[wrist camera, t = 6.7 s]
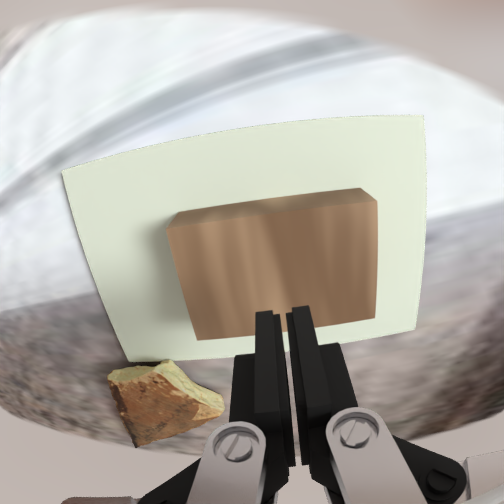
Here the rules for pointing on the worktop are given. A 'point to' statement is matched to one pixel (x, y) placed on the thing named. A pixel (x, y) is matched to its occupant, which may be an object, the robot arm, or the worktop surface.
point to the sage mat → (241, 190)
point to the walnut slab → (277, 260)
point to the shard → (161, 401)
